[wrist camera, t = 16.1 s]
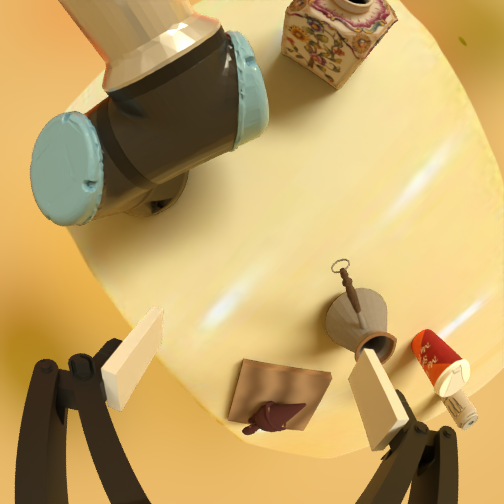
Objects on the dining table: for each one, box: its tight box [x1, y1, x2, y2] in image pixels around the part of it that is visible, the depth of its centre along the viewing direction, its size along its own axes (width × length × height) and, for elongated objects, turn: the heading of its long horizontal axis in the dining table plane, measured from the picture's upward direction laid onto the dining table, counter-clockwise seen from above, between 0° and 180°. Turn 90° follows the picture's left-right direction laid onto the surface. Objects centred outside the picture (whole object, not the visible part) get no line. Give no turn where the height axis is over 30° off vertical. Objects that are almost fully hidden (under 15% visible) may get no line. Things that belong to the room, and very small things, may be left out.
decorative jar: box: [281, 0, 398, 90], centre depth 26 cm, size 12×12×18 cm
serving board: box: [228, 359, 332, 431], centre depth 51 cm, size 18×18×2 cm
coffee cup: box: [412, 329, 470, 397], centre depth 40 cm, size 8×8×15 cm
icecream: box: [242, 401, 306, 435], centre depth 47 cm, size 7×7×15 cm
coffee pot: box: [326, 259, 397, 365], centre depth 38 cm, size 21×12×15 cm, turn 30°
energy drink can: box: [439, 389, 478, 430], centre depth 44 cm, size 6×6×15 cm
